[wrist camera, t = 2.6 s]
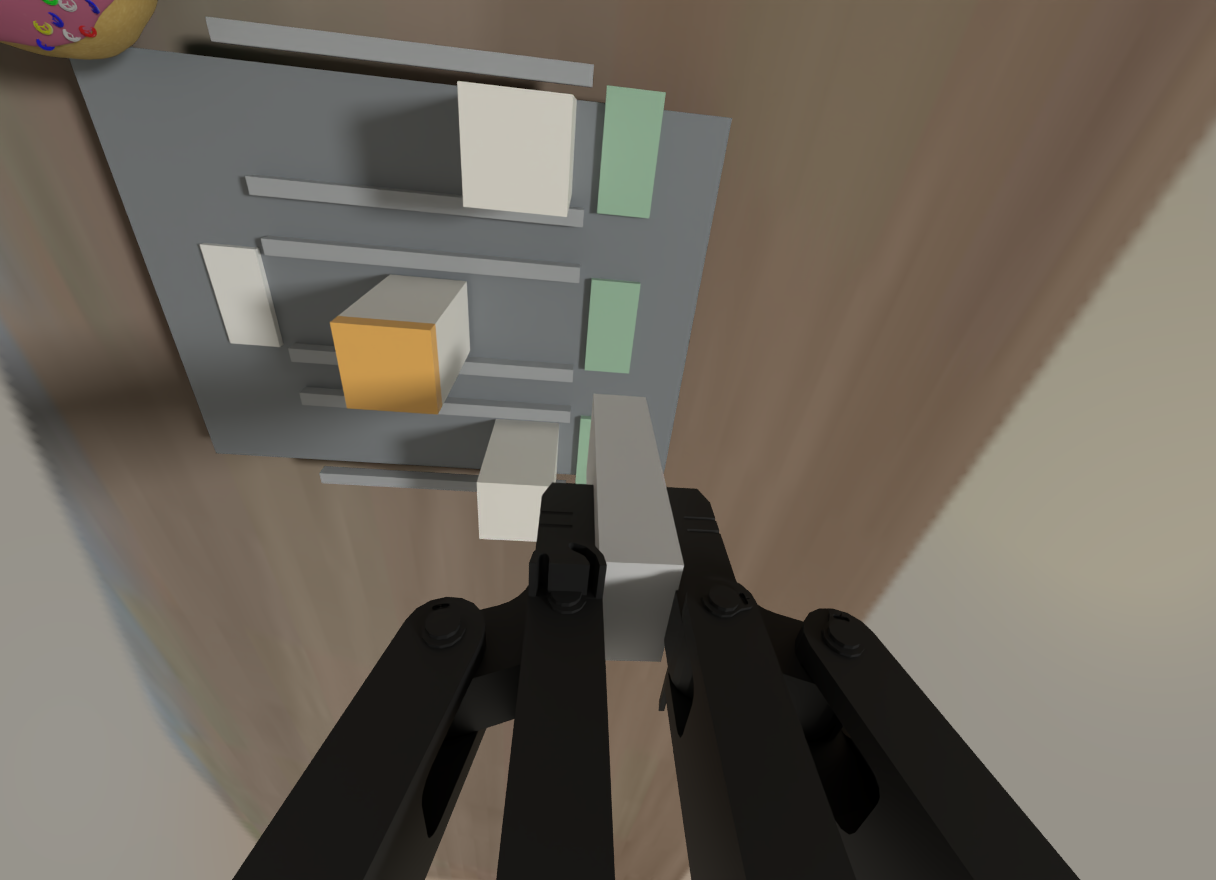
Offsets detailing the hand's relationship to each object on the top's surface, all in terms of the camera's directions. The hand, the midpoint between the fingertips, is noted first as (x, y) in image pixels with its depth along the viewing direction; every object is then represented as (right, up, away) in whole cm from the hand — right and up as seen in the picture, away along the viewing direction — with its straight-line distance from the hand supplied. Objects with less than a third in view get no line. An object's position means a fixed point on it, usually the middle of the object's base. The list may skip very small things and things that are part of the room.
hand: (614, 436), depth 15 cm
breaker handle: (-7, +5, +6) cm, 11 cm away
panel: (-8, +6, +8) cm, 13 cm away
